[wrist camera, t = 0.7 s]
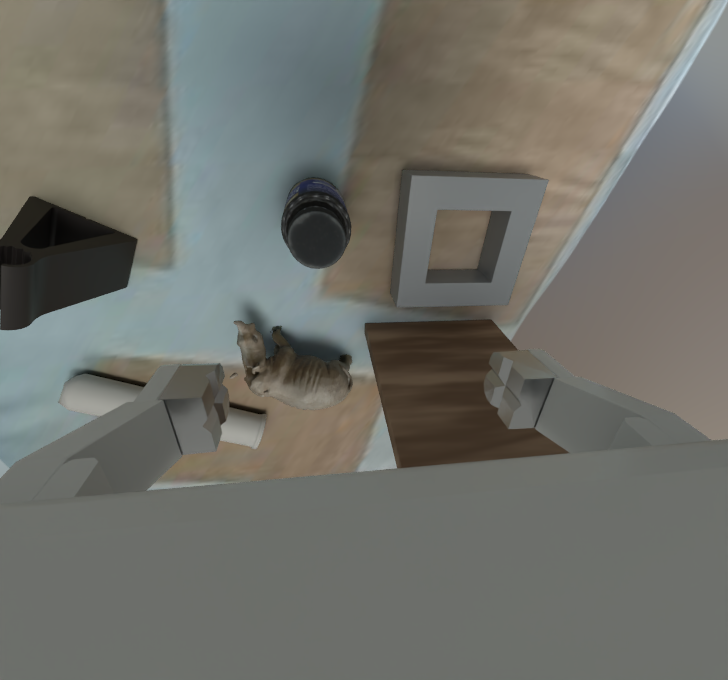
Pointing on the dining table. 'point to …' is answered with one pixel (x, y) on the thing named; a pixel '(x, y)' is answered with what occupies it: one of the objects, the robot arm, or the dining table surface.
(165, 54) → the dining table surface
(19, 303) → the phone stand
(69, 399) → the tube
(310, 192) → the pill bottle
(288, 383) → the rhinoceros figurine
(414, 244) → the socket block
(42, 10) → the dining table surface
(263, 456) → the dining table surface
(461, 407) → the wood grain plank
